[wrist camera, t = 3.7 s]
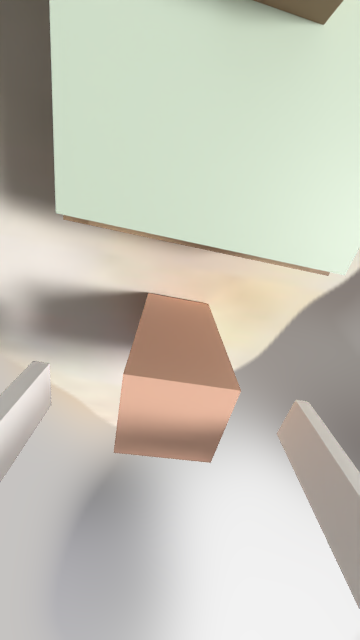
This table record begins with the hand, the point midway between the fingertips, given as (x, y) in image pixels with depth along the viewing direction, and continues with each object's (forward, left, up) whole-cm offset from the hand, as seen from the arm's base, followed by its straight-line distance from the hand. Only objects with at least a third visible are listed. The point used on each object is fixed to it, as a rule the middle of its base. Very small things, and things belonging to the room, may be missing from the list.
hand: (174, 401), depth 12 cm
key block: (0, 0, -8) cm, 8 cm away
